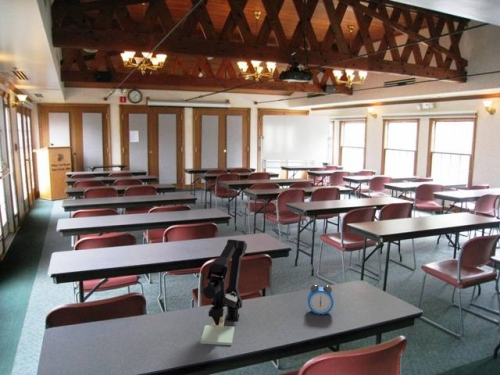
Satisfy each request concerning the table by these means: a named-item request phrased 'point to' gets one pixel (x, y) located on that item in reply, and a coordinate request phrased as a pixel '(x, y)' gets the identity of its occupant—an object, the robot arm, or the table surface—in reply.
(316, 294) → the alarm clock
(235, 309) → the robot arm
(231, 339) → the green pad
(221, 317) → the birch cube
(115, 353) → the table surface
